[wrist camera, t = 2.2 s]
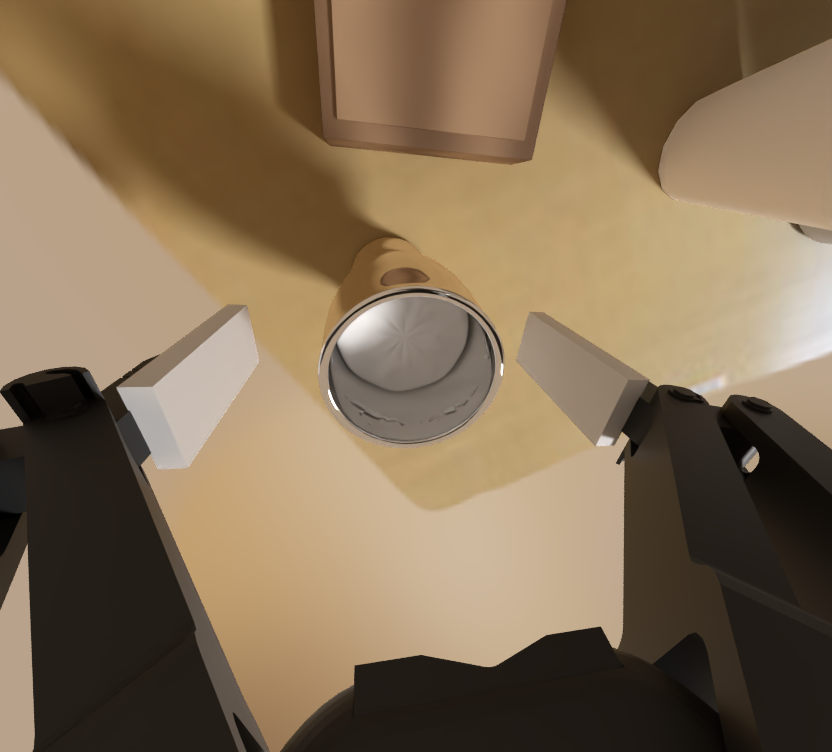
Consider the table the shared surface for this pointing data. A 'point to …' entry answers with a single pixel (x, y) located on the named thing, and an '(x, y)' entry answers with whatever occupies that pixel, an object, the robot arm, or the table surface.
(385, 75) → the coaster
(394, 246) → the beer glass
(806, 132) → the foam cup
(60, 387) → the robot arm
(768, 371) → the table surface
